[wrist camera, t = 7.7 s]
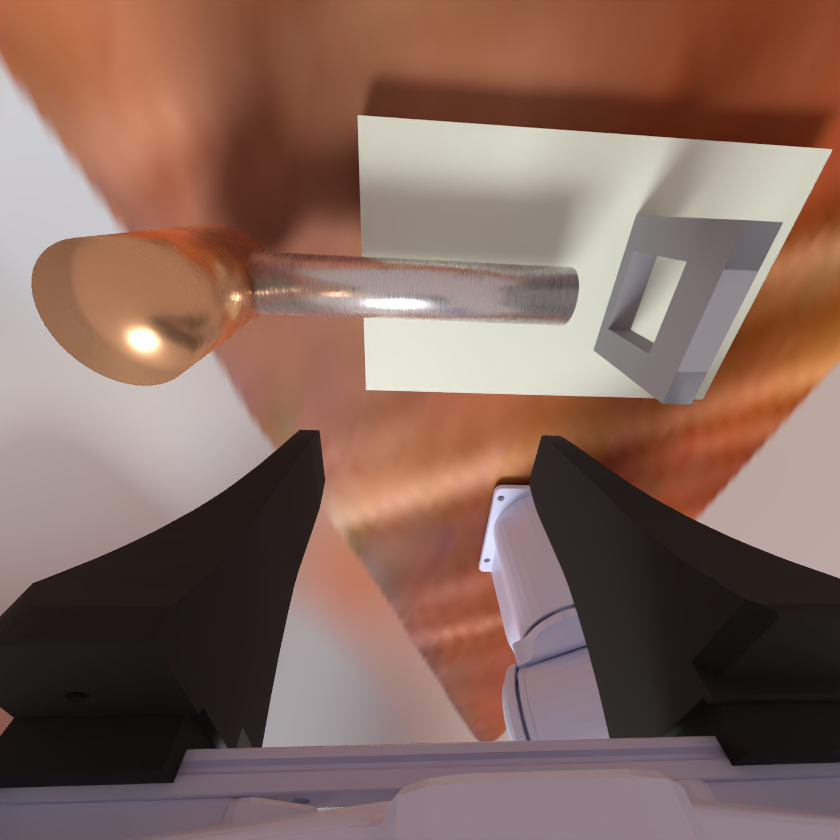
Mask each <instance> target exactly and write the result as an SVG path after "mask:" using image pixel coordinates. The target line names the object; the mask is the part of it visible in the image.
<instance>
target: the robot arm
mask: <svg viewBox="0 0 840 840" xmlns="http://www.w3.org/2000/svg"><path fill="white" fill-rule="evenodd" d="M324 483H325V475H324V467H323V458H322V449H321V440H320V432H319V430H299V431H298V432H297V433H296V434H294V435H293V436H292V437H291V438H290V439H289V440H288V441H286V442H285V443H284V444H283V445H282V446H281V447H280V448H278V449H277V450H276V451H275V452H274V453H273V454H271V455H270V456H269V457H268V458H267V459H265V460H264V461H263V462H262V463H261V464H260V465H258V466H257V467H256V468H254V469H253V470H252V471H250V472H249V473H248V474H246V475H245V476H244V477H243V478H241V479H240V480H239V481H237V482H236V483H235V484H233V485H232V486H230V487H229V488H228V489H226V490H225V491H224V492H222V493H220V494H219V495H217V496H216V497H214V498H213V499H211V500H209V501H208V502H206V503H205V504H203V505H201V506H200V507H198V508H196V509H195V510H194V511H191V512H190V513H188V514H186V515H184V516H182V517H180V518H178V519H177V520H175V521H173V522H171V523H169V524H167V525H166V526H164V527H162V528H160V529H158V530H156V531H154V532H152V533H150V534H148V535H146V536H144V537H142V538H140V539H138V540H136V541H134V542H132V543H129V544H127V545H125V546H123V547H121V548H118V549H117V550H114V551H112V552H110V553H107V554H105V555H103V556H100V557H98V558H96V559H93V560H91V561H88V562H86V563H83V564H81V565H78V566H76V567H73V568H71V569H68V570H66V571H63V572H61V573H58V574H56V575H53V576H51V577H48V578H46V579H43V580H40V581H38V582H35V583H33V584H32V585H31V586H30V587H29V588H28V589H27V590H26V591H25V592H24V593H23V594H22V595H21V596H20V597H19V598H18V599H17V600H16V601H15V602H14V603H13V604H12V605H11V606H10V607H9V608H8V609H7V610H6V611H5V612H4V613H3V614H2V615H1V616H0V707H1V708H2V709H3V710H5V711H6V712H7V713H9V714H10V715H11V716H12V717H14V719H13V720H12V722H11V723H10V724H9V725H8V727H7V728H6V730H5V731H4V732H3V734H2V735H1V736H0V840H840V578H837V577H834V576H831V575H828V574H825V573H823V572H820V571H817V570H814V569H811V568H808V567H805V566H802V565H800V564H797V563H794V562H791V561H788V560H786V559H783V558H780V557H778V556H775V555H773V554H770V553H768V552H765V551H763V550H760V549H758V548H755V547H753V546H750V545H748V544H746V543H743V542H741V541H739V540H736V539H734V538H732V537H729V536H727V535H725V534H723V533H721V532H719V531H716V530H714V529H712V528H710V527H708V526H706V525H703V524H701V523H699V522H697V521H695V520H693V519H691V518H689V517H687V516H685V515H683V514H682V513H680V512H678V511H676V510H674V509H672V508H671V507H669V506H667V505H665V504H663V503H661V502H660V501H658V500H656V499H654V498H653V497H651V496H649V495H648V494H646V493H644V492H643V491H641V490H640V489H638V488H636V487H635V486H633V485H632V484H630V483H628V482H627V481H625V480H624V479H622V478H621V477H619V476H618V475H616V474H615V473H613V472H612V471H611V470H609V469H608V468H606V467H605V466H603V465H602V464H600V463H599V462H598V461H596V460H595V459H593V458H592V457H591V456H589V455H588V454H586V453H585V452H584V451H582V450H581V449H579V448H578V447H576V446H575V445H574V444H572V443H571V442H569V441H568V440H566V439H564V438H563V437H561V436H542V437H541V440H540V444H539V448H538V452H537V455H536V459H535V463H534V466H533V470H532V474H531V477H530V481H529V485H499V486H497V487H496V488H495V490H494V494H493V499H492V503H491V508H490V513H489V518H488V523H487V527H486V532H485V537H484V542H483V546H482V551H481V556H480V561H479V569H480V570H481V571H484V572H491V573H492V577H493V582H494V586H495V590H496V594H497V599H498V603H499V607H500V612H501V616H502V620H503V624H504V629H505V633H506V637H507V640H508V642H509V645H510V647H511V648H512V650H513V652H514V653H515V657H516V662H517V664H513V665H511V666H509V667H508V669H507V671H506V675H505V681H504V684H503V690H502V703H503V712H504V718H505V724H506V728H507V733H508V737H509V741H498V742H461V743H460V742H459V743H422V744H421V743H420V744H384V745H383V744H381V745H342V746H305V747H304V746H303V747H264V748H262V744H263V738H264V732H265V727H266V721H267V715H268V710H269V704H270V699H271V693H272V687H273V683H274V678H275V673H276V667H277V662H278V657H279V652H280V647H281V643H282V638H283V633H284V629H285V624H286V619H287V615H288V610H289V606H290V602H291V597H292V593H293V589H294V585H295V581H296V578H297V574H298V571H299V568H300V565H301V562H302V559H303V556H304V553H305V550H306V547H307V544H308V541H309V538H310V535H311V533H312V530H313V526H314V523H315V520H316V518H317V515H318V511H319V508H320V504H321V499H322V494H323V489H324ZM499 496H502V497H499ZM322 807H323V808H324V807H344V808H338V809H331V810H324V811H318V810H317V808H322Z"/></svg>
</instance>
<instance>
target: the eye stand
mask: <svg viewBox="0 0 840 840" xmlns="http://www.w3.org/2000/svg"><path fill="white" fill-rule="evenodd" d="M358 147H359V179H360V211H361V242H362V257H380V258H400V259H420V260H440V261H460V262H480V263H500V264H520V265H540V266H560V267H573V268H574V269H575V270H576V271H577V274H578V278H579V294H578V300H577V304H576V307H575V310H574V312H573V315H572V317H571V318H570V320H569V321H568V322H567V323H566V324H565V325H563V326H555V325H531V324H506V323H481V322H457V321H432V320H407V319H383V318H364V338H365V370H366V390H391V391H425V392H459V393H493V394H527V395H561V396H595V397H629V398H656V399H657V400H658V401H659V402H661V403H662V404H687V405H691V404H692V402H693V400H694V399H697V400H703V398H704V396H705V394H706V392H707V390H708V388H709V386H710V384H711V383H712V381H713V379H714V377H715V375H716V373H717V371H718V369H719V367H720V365H721V363H722V361H723V359H724V358H725V356H726V354H727V352H728V350H729V348H730V346H731V344H732V342H733V340H734V338H735V336H736V334H737V332H738V331H739V329H740V327H741V325H742V323H743V321H744V319H745V317H746V315H747V313H748V311H749V309H750V307H751V306H752V304H753V302H754V300H755V298H756V296H757V294H758V292H759V290H760V288H761V286H762V284H763V282H764V281H765V279H766V277H767V275H768V273H769V271H770V269H771V267H772V265H773V263H774V261H775V259H776V257H777V256H778V254H779V252H780V250H781V248H782V246H783V244H784V242H785V240H786V238H787V236H788V234H789V232H790V231H791V229H792V227H793V225H794V223H795V221H796V219H797V217H798V215H799V213H800V211H801V209H802V207H803V205H804V204H805V202H806V200H807V198H808V196H809V194H810V192H811V190H812V188H813V186H814V184H815V182H816V180H817V179H818V177H819V175H820V173H821V171H822V169H823V167H824V165H825V163H826V161H827V159H828V157H829V155H830V154H831V152H832V150H833V149H821V148H808V147H794V146H780V145H766V144H752V143H738V142H724V141H710V140H696V139H682V138H668V137H654V136H641V135H627V134H613V133H599V132H585V131H571V130H557V129H543V128H529V127H515V126H501V125H487V124H473V123H460V122H446V121H432V120H418V119H404V118H390V117H376V116H362V115H358Z"/></svg>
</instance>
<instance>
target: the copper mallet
mask: <svg viewBox="0 0 840 840" xmlns="http://www.w3.org/2000/svg"><path fill="white" fill-rule="evenodd" d="M32 293H33V298H34V302H35V305H36V308H37V310H38V313H39V315H40V317H41V319H42V321H43V322H44V324H45V326H46V327H47V329H48V330H49V332H50V333H51V334H52V336H53V337H54V338H55V339H56V340H57V342H58V343H59V344H60V345H61V346H62V347H63V348H64V349H65V350H66V351H67V352H68V353H69V354H71V355H72V356H73V357H74V358H75V359H76V360H78V361H79V362H81V363H82V364H84V365H85V366H86V367H88V368H90V369H92V370H93V371H95V372H97V373H99V374H101V375H103V376H105V377H108V378H110V379H113V380H116V381H119V382H122V383H127V384H133V385H142V386H149V385H157V384H162V383H165V382H168V381H171V380H173V379H175V378H176V377H178V376H179V375H181V374H182V373H183V372H185V371H186V370H187V369H189V368H190V367H191V366H193V365H194V364H195V363H196V362H198V361H199V360H201V359H202V358H203V357H205V356H206V355H207V354H209V353H210V352H211V351H212V350H214V349H215V348H216V347H218V346H219V345H220V344H222V343H223V342H224V341H226V340H227V339H228V338H230V337H231V336H232V335H234V334H235V333H236V332H238V331H239V330H240V329H242V328H243V327H244V326H246V325H247V324H248V323H250V322H251V321H252V320H254V319H255V318H256V317H258V316H259V315H260V314H284V315H309V316H333V317H358V318H383V319H407V320H432V321H457V322H481V323H506V324H531V325H555V326H563V325H565V324H566V323H567V322H568V321H569V320H570V318H571V317H572V315H573V312H574V310H575V307H576V304H577V300H578V294H579V278H578V274H577V271H576V270H575V269H574V268H573V267H560V266H540V265H520V264H500V263H480V262H460V261H440V260H420V259H400V258H380V257H360V256H340V255H320V254H300V253H280V252H264V251H263V249H262V248H261V247H260V246H259V245H258V244H257V242H256V241H254V240H253V239H252V238H251V237H250V236H248V235H247V234H245V233H244V232H242V231H240V230H238V229H236V228H234V227H231V226H227V225H221V224H210V225H199V226H189V227H179V228H169V229H159V230H149V231H139V232H129V233H118V234H108V235H98V236H88V237H78V238H71V239H65V240H62V241H59V242H57V243H55V244H54V245H51V246H50V247H48V248H47V249H46V250H45V251H44V252H43V253H42V254H41V255H40V257H39V258H38V259H37V261H36V264H35V266H34V268H33V273H32Z"/></svg>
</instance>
